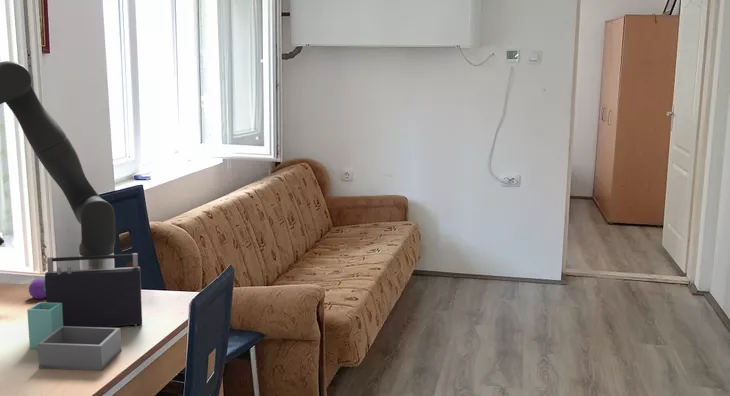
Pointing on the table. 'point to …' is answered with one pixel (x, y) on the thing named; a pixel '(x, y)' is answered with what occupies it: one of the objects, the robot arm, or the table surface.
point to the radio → (96, 293)
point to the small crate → (43, 321)
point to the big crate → (79, 348)
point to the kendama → (37, 289)
